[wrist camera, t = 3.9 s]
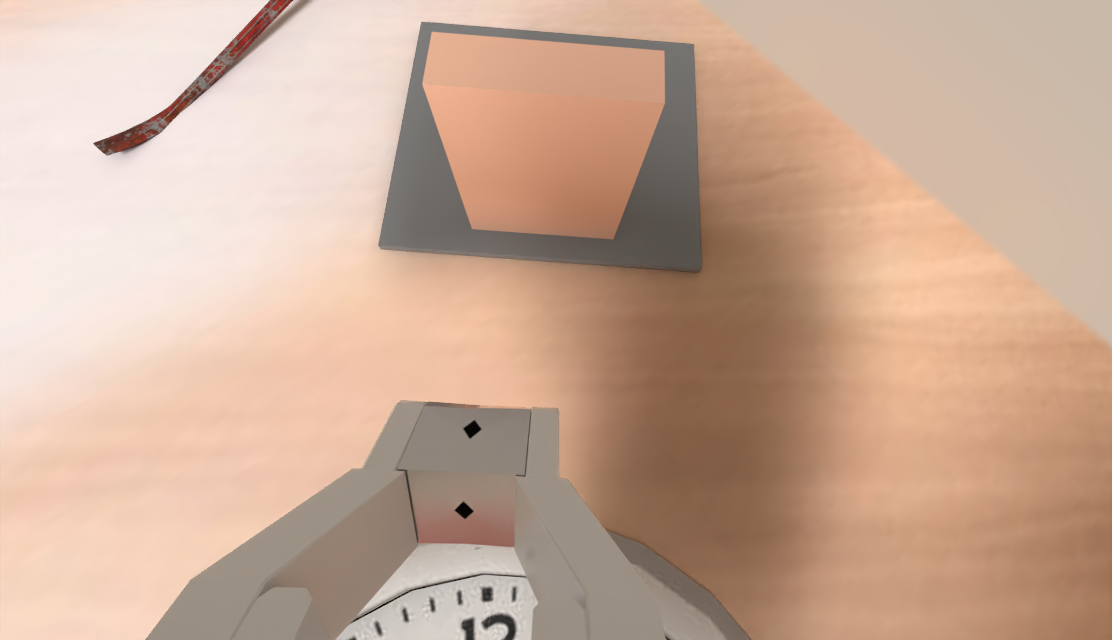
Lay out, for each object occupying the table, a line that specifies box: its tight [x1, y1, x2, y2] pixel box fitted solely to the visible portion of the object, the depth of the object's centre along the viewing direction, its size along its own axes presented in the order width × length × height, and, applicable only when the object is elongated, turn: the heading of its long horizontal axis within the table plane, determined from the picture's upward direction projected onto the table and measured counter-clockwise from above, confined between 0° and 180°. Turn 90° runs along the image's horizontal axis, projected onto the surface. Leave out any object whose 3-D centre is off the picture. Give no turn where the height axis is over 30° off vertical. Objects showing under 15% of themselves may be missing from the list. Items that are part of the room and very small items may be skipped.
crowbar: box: [93, 0, 293, 155], centre depth 27 cm, size 26×2×5 cm, turn 141°
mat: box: [378, 22, 701, 272], centre depth 25 cm, size 18×16×1 cm
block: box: [422, 32, 665, 239], centre depth 19 cm, size 8×2×10 cm, turn 86°
